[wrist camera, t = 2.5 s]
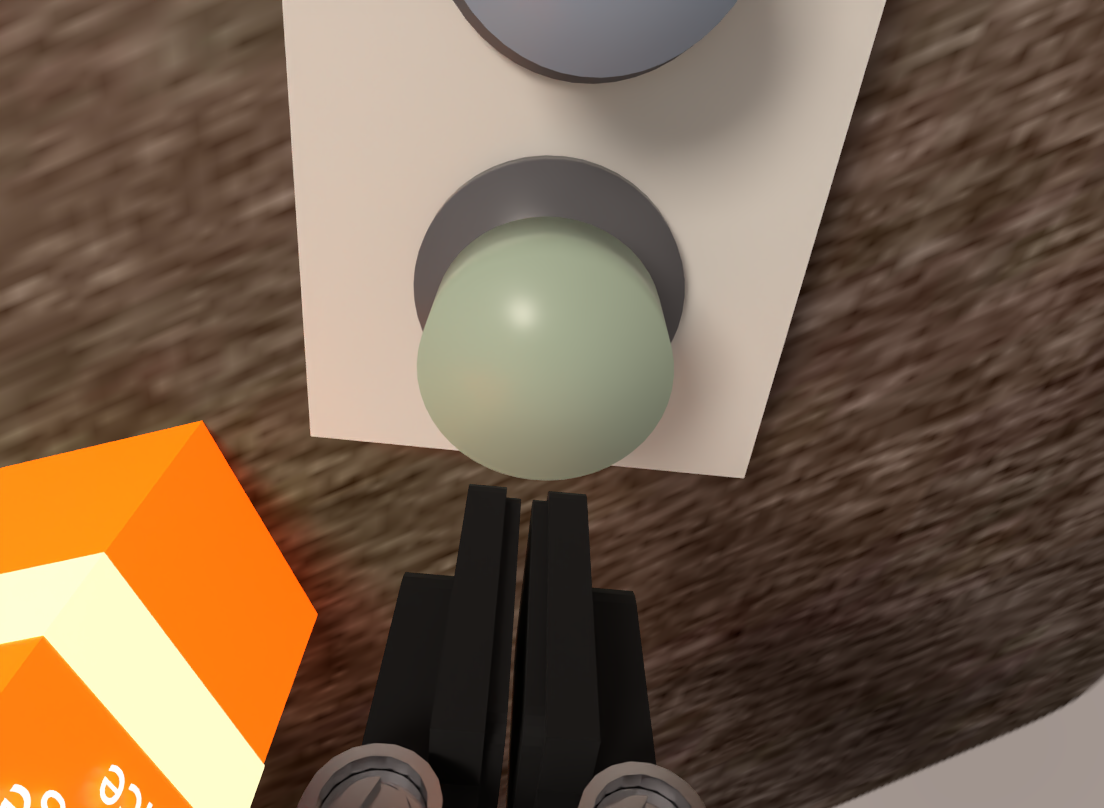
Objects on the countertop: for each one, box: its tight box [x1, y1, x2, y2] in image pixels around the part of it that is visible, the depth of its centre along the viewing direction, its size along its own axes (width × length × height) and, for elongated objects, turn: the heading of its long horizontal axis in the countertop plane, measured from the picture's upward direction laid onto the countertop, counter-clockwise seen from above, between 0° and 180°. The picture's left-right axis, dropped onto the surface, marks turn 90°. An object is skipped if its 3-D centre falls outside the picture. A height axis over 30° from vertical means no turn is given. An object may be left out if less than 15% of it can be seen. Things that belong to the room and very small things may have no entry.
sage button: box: [417, 216, 674, 480], centre depth 16 cm, size 5×5×2 cm
